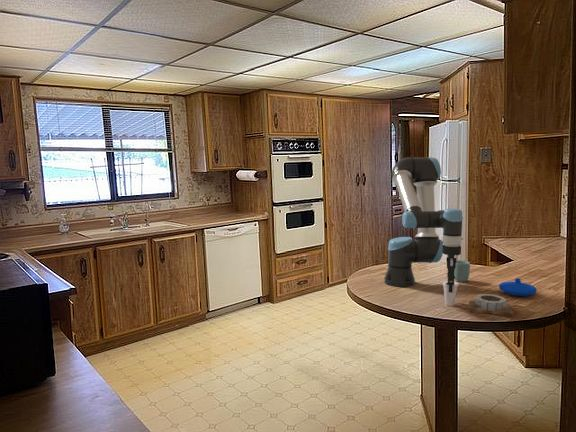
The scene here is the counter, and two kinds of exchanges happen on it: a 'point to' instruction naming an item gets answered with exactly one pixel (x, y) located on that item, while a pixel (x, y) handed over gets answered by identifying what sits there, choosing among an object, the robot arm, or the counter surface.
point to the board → (504, 312)
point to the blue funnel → (517, 288)
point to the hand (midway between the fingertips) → (450, 296)
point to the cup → (462, 271)
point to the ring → (490, 302)
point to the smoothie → (447, 301)
